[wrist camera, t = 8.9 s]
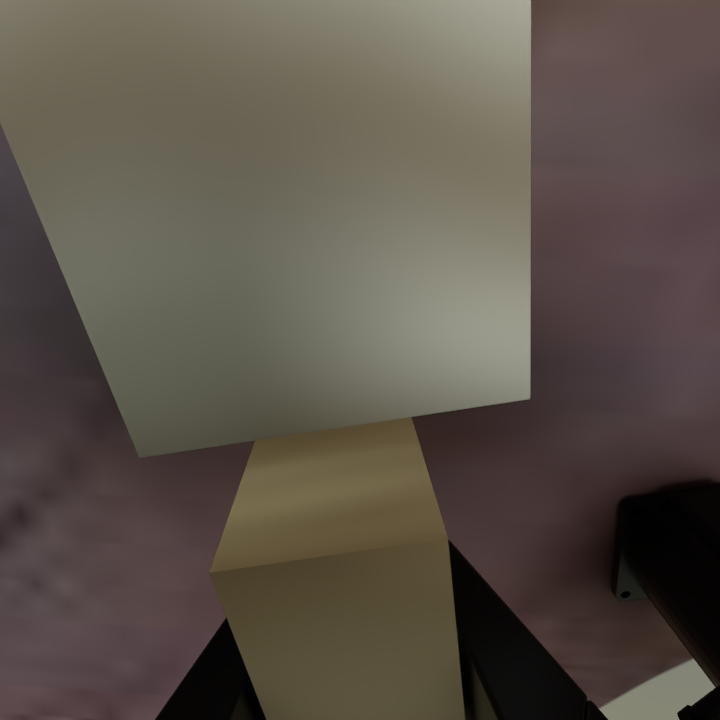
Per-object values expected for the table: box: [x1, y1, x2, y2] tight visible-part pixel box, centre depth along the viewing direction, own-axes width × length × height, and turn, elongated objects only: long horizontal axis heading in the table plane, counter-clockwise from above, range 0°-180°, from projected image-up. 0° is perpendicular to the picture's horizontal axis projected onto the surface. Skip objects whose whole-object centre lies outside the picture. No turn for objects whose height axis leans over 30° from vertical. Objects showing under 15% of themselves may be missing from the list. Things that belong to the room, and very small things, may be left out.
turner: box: [0, 0, 531, 720], centre depth 7 cm, size 21×7×4 cm, turn 9°
